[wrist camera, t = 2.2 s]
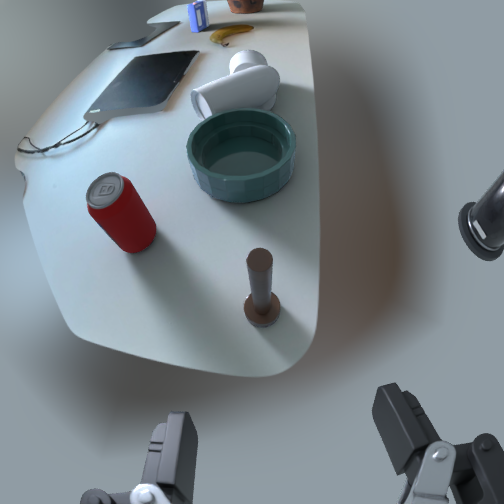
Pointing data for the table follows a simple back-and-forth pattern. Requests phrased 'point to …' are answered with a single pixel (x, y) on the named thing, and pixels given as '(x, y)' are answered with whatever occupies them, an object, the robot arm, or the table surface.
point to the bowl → (242, 154)
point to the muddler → (261, 289)
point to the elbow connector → (239, 87)
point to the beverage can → (120, 212)
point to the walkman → (198, 15)
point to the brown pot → (245, 6)
